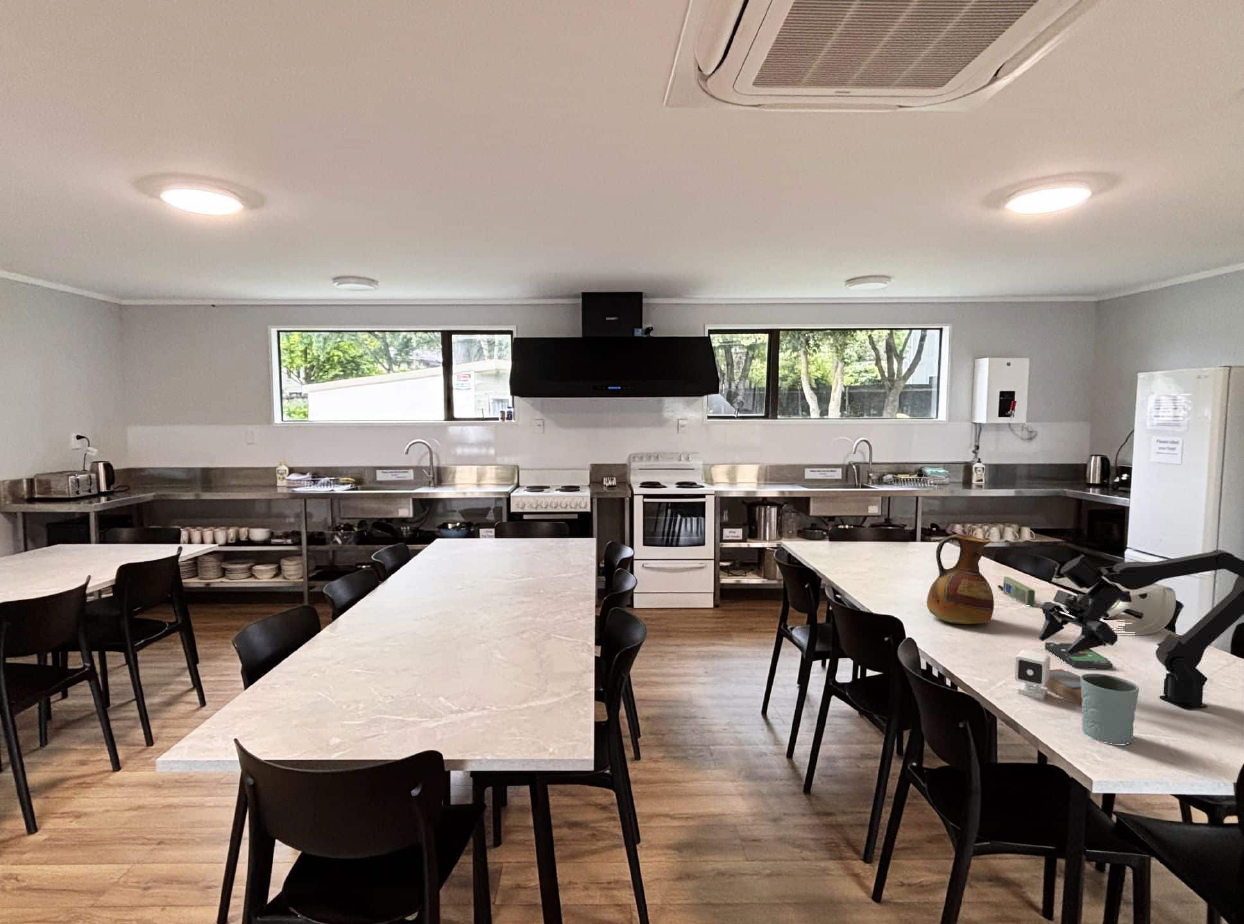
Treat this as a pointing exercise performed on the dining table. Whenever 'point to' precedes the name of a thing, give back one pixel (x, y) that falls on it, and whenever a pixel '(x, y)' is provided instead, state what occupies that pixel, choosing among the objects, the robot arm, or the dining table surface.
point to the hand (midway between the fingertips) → (1054, 646)
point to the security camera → (1032, 673)
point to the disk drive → (1078, 656)
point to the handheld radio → (1018, 591)
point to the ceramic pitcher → (962, 585)
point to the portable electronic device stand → (1140, 607)
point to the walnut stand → (1065, 685)
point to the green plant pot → (1108, 707)
